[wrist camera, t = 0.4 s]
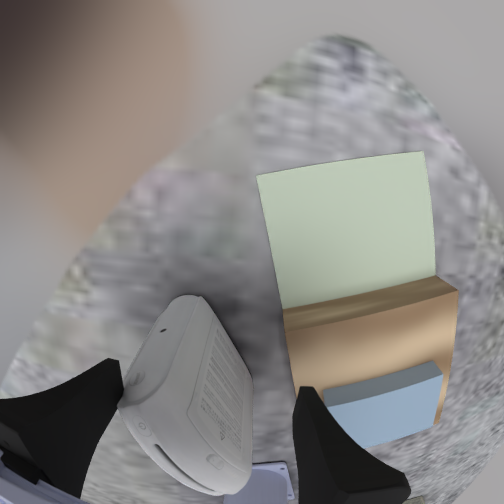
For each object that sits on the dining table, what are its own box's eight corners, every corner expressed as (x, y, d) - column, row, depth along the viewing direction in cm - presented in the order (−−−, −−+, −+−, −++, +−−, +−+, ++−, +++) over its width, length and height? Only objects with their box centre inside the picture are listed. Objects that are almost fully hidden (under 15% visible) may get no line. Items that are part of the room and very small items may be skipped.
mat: (433, 274, 22) (435, 275, 21) (282, 307, 23) (282, 309, 22) (421, 151, 19) (423, 151, 19) (256, 175, 21) (255, 175, 20)
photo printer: (155, 304, 22) (86, 419, 11) (202, 283, 22) (155, 407, 10) (216, 394, 25) (200, 511, 13) (259, 381, 25) (262, 505, 13)
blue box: (424, 412, 20) (432, 426, 18) (327, 439, 21) (330, 455, 19) (432, 360, 19) (443, 374, 17) (322, 389, 20) (326, 407, 18)
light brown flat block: (424, 398, 24) (438, 422, 21) (303, 429, 26) (306, 458, 22) (433, 274, 22) (458, 290, 18) (282, 307, 23) (284, 332, 19)
